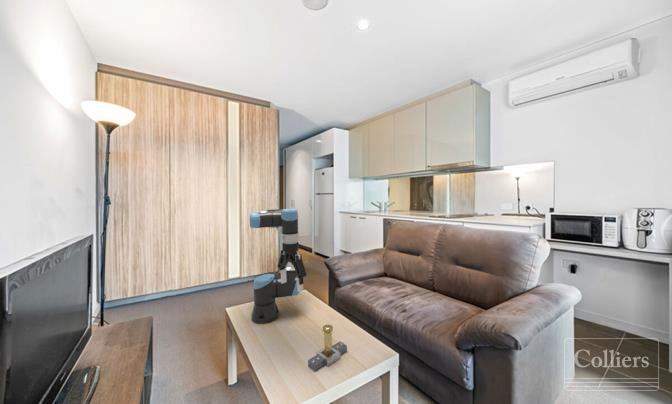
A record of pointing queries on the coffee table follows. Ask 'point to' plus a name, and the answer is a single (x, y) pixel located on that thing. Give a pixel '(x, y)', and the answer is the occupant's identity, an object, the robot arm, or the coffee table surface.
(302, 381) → the coffee table surface
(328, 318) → the coffee table surface
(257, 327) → the coffee table surface
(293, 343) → the coffee table surface
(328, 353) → the pin
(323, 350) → the chain joint
